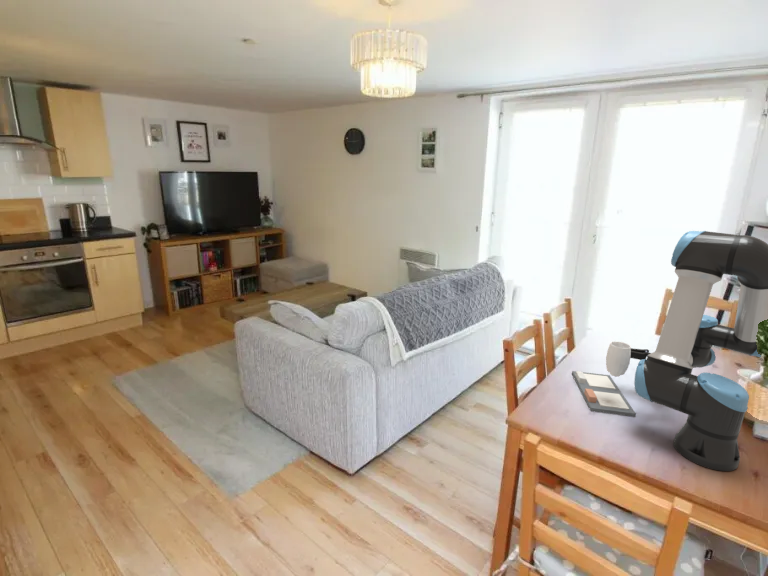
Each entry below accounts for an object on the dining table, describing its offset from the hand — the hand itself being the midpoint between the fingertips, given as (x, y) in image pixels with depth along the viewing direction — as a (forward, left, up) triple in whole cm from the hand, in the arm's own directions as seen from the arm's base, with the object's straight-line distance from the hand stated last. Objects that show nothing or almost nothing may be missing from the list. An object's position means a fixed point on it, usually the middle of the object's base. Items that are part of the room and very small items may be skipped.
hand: (624, 363), depth 142 cm
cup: (-2, +3, -13) cm, 14 cm away
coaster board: (+5, +4, -15) cm, 16 cm away
